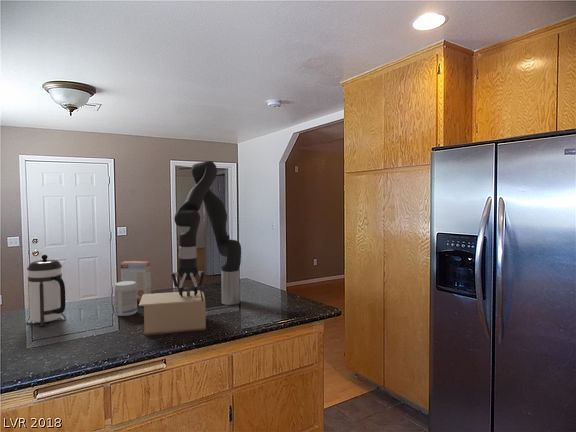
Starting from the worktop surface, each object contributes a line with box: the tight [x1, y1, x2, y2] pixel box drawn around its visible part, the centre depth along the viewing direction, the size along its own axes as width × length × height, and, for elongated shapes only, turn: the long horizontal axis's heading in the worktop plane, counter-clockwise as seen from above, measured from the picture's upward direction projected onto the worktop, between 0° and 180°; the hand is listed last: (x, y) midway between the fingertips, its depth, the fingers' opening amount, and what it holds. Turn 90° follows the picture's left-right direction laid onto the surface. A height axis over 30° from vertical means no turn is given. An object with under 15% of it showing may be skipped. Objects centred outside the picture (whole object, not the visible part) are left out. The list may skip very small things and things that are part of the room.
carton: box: [143, 291, 207, 336], centre depth 159 cm, size 24×16×12 cm, turn 106°
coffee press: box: [25, 254, 67, 328], centre depth 163 cm, size 17×16×30 cm
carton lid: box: [138, 286, 202, 307], centre depth 158 cm, size 24×16×4 cm
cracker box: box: [120, 260, 152, 303], centre depth 198 cm, size 14×6×21 cm, turn 84°
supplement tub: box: [114, 281, 138, 317], centre depth 175 cm, size 10×10×15 cm
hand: (188, 295), depth 160 cm, fingers closed on carton lid, 5 cm apart
